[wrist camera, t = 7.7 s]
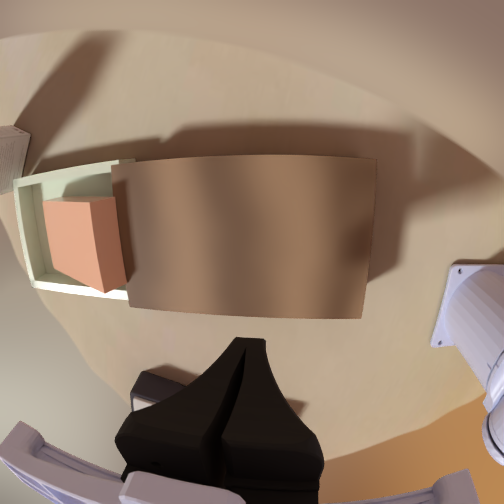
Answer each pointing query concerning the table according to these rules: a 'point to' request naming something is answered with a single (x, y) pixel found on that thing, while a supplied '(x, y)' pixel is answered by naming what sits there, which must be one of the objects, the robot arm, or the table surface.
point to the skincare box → (12, 155)
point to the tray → (34, 228)
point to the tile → (86, 240)
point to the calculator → (151, 390)
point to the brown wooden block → (247, 234)
